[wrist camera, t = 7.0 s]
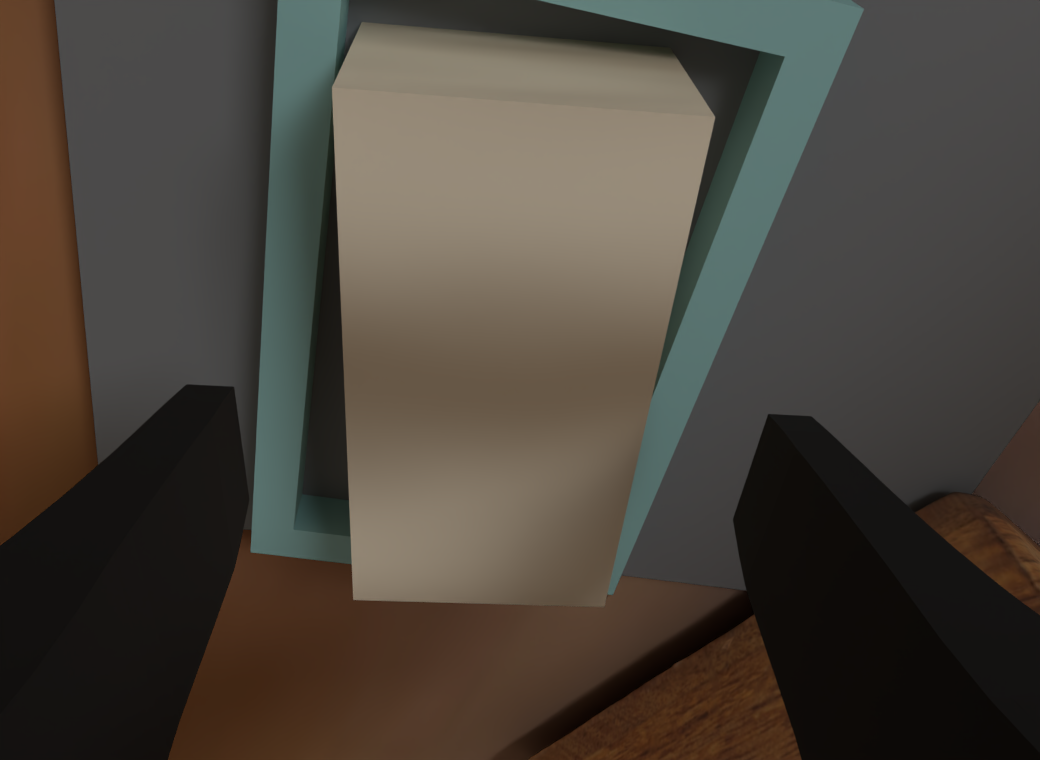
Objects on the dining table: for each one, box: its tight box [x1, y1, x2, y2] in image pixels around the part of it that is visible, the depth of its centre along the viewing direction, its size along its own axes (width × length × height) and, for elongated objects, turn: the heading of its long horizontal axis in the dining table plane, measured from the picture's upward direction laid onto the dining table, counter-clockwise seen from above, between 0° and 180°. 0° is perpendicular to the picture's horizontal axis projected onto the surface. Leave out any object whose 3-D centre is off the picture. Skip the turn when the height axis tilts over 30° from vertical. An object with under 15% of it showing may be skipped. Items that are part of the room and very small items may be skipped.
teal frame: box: [251, 0, 864, 595], centre depth 15 cm, size 8×12×1 cm, turn 168°
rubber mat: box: [54, 0, 1040, 591], centre depth 13 cm, size 18×20×1 cm
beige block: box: [332, 22, 715, 607], centre depth 14 cm, size 9×4×3 cm, turn 175°
